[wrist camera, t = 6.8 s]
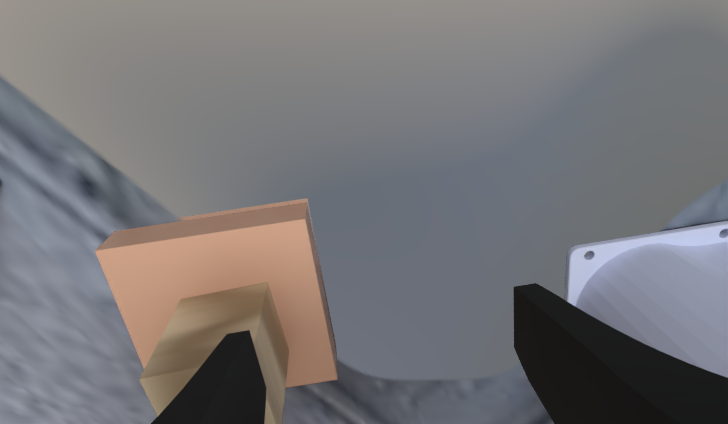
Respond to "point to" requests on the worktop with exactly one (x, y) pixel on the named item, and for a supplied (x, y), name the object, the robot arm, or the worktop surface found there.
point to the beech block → (206, 330)
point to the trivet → (226, 276)
